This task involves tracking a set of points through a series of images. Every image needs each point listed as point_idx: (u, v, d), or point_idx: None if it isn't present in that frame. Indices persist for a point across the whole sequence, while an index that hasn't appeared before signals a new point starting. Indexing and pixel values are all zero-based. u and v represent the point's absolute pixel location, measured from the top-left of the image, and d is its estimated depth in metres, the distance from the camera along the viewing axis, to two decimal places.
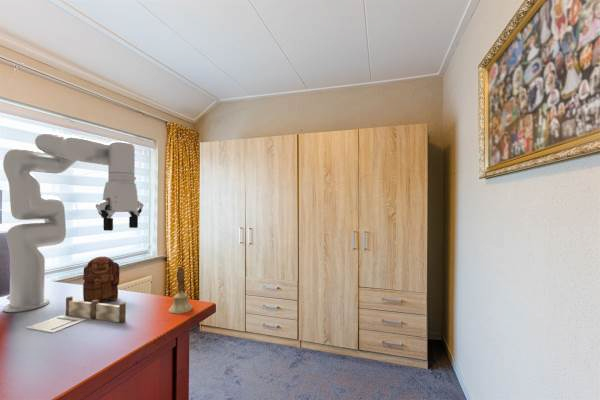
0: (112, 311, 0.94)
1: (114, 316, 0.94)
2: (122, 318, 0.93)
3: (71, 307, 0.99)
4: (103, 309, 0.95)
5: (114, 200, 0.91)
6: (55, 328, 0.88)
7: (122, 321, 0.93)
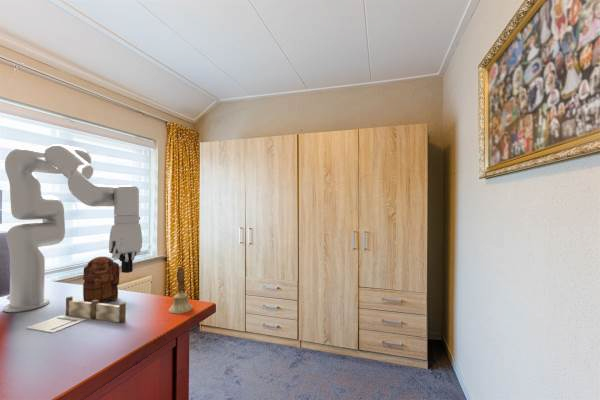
0: (112, 311, 0.94)
1: (114, 316, 0.94)
2: (122, 318, 0.93)
3: (71, 307, 0.99)
4: (103, 309, 0.95)
5: (120, 243, 0.95)
6: (55, 328, 0.88)
7: (122, 321, 0.93)
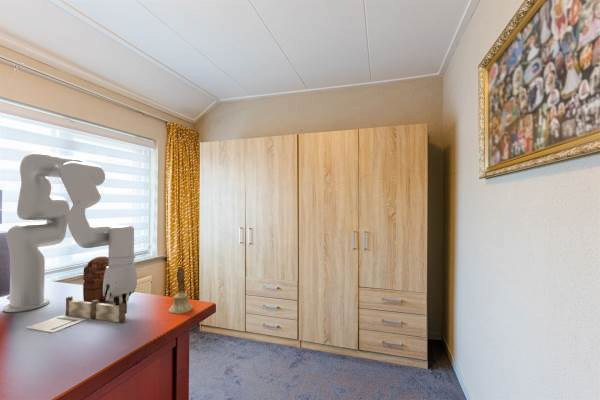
0: (112, 311, 0.94)
1: (114, 316, 0.94)
2: (122, 318, 0.93)
3: (71, 307, 0.99)
4: (103, 309, 0.95)
5: (114, 286, 0.93)
6: (55, 328, 0.88)
7: (122, 321, 0.93)
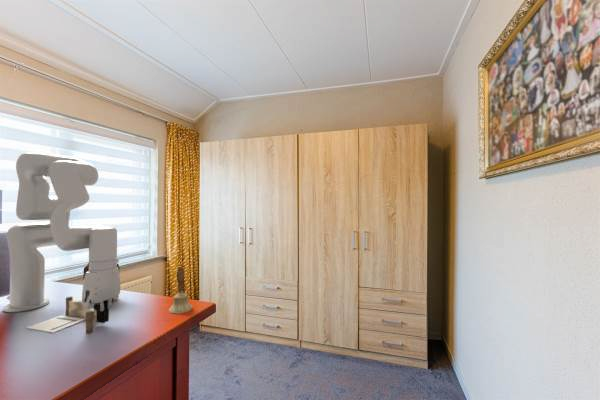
0: None
1: None
2: (86, 328, 0.86)
3: (71, 307, 0.99)
4: None
5: (94, 292, 0.87)
6: (55, 328, 0.88)
7: (86, 331, 0.86)
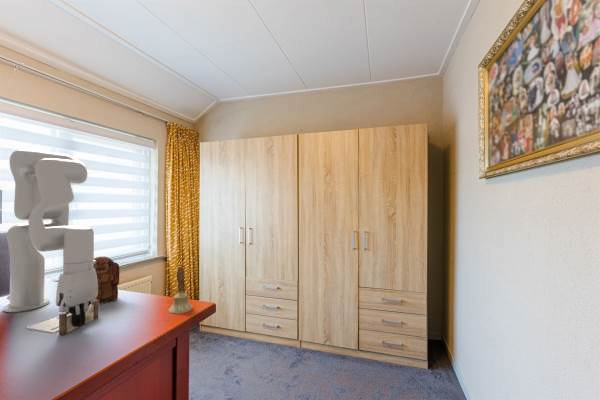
0: None
1: None
2: (59, 330, 0.85)
3: None
4: None
5: (68, 295, 0.83)
6: (55, 328, 0.88)
7: (59, 333, 0.85)
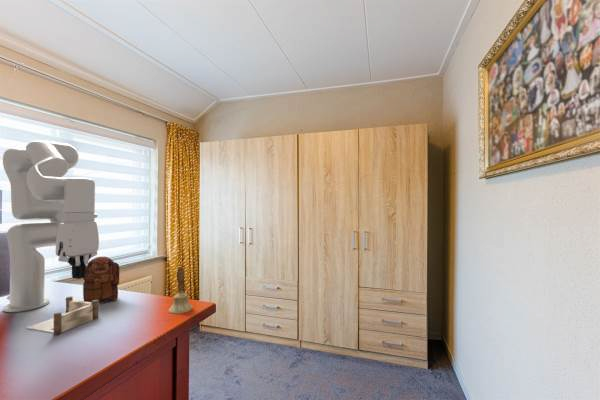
0: None
1: None
2: None
3: (71, 307, 0.99)
4: None
5: (68, 244, 0.81)
6: None
7: None
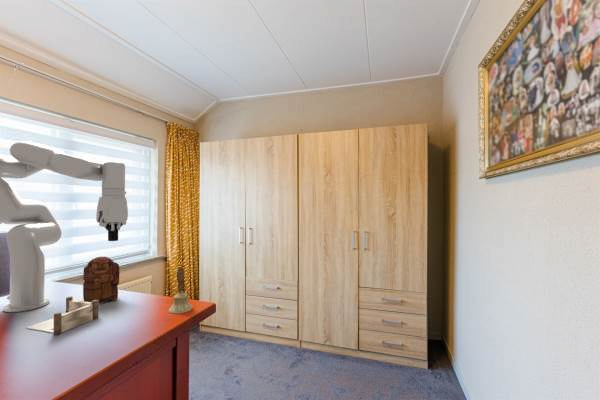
0: None
1: None
2: None
3: (71, 307, 0.99)
4: None
5: (106, 213, 1.04)
6: None
7: None
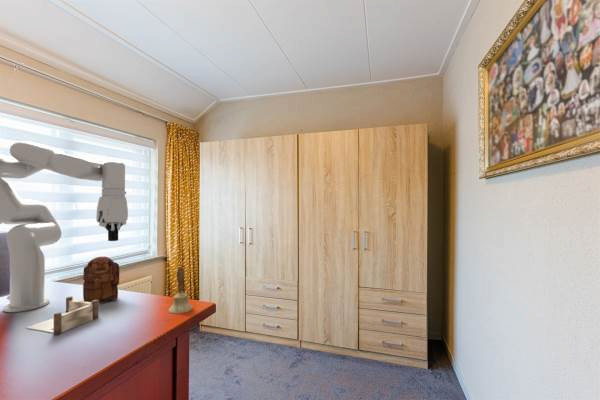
0: None
1: None
2: None
3: (71, 307, 0.99)
4: None
5: (106, 213, 1.04)
6: None
7: None
